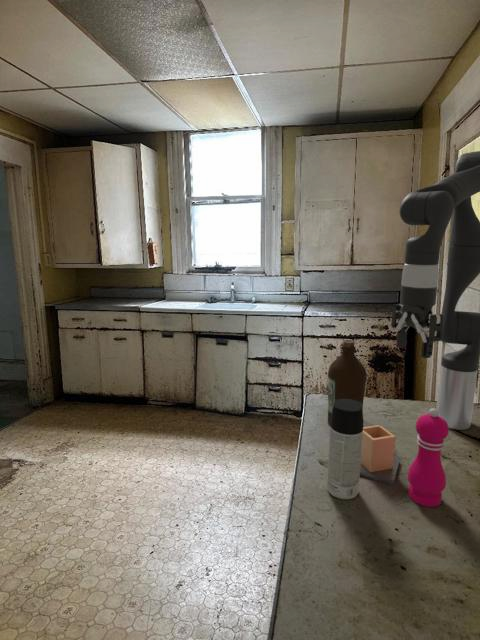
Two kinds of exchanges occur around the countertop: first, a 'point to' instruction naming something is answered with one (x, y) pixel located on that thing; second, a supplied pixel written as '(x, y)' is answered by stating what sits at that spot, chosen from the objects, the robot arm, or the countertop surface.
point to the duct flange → (381, 472)
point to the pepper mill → (428, 460)
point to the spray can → (345, 448)
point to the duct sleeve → (377, 448)
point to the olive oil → (346, 377)
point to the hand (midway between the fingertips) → (412, 352)
